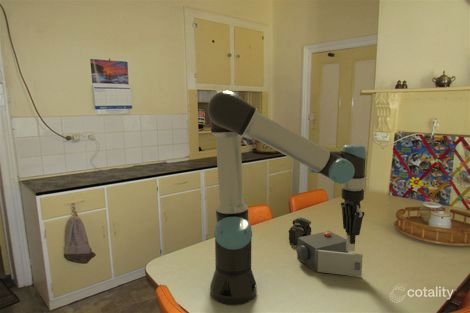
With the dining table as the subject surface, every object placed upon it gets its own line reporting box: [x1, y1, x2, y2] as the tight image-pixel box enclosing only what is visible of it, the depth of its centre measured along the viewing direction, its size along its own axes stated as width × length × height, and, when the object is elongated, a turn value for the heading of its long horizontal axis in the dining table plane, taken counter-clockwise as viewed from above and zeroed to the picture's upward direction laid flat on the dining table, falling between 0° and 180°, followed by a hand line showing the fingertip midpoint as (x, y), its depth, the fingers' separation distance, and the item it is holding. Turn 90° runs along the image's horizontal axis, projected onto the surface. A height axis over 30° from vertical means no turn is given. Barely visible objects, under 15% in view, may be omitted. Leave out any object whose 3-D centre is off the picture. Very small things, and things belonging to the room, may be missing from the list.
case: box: [296, 230, 349, 270], centre depth 126 cm, size 18×11×10 cm, turn 116°
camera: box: [288, 216, 312, 246], centre depth 146 cm, size 13×10×10 cm
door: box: [313, 250, 363, 278], centre depth 115 cm, size 16×2×8 cm, turn 76°
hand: (350, 250), depth 118 cm, fingers closed
